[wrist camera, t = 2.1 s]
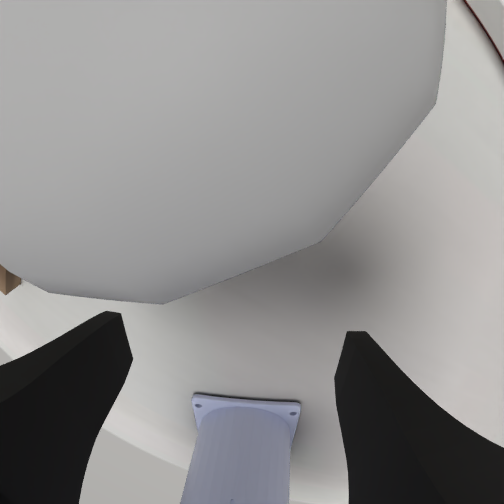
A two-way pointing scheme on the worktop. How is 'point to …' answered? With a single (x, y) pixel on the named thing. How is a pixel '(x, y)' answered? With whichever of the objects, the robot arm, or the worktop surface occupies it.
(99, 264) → the salt shaker
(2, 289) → the hinge leaves
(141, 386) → the worktop surface
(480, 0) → the pan
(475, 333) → the worktop surface
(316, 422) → the worktop surface
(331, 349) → the worktop surface
